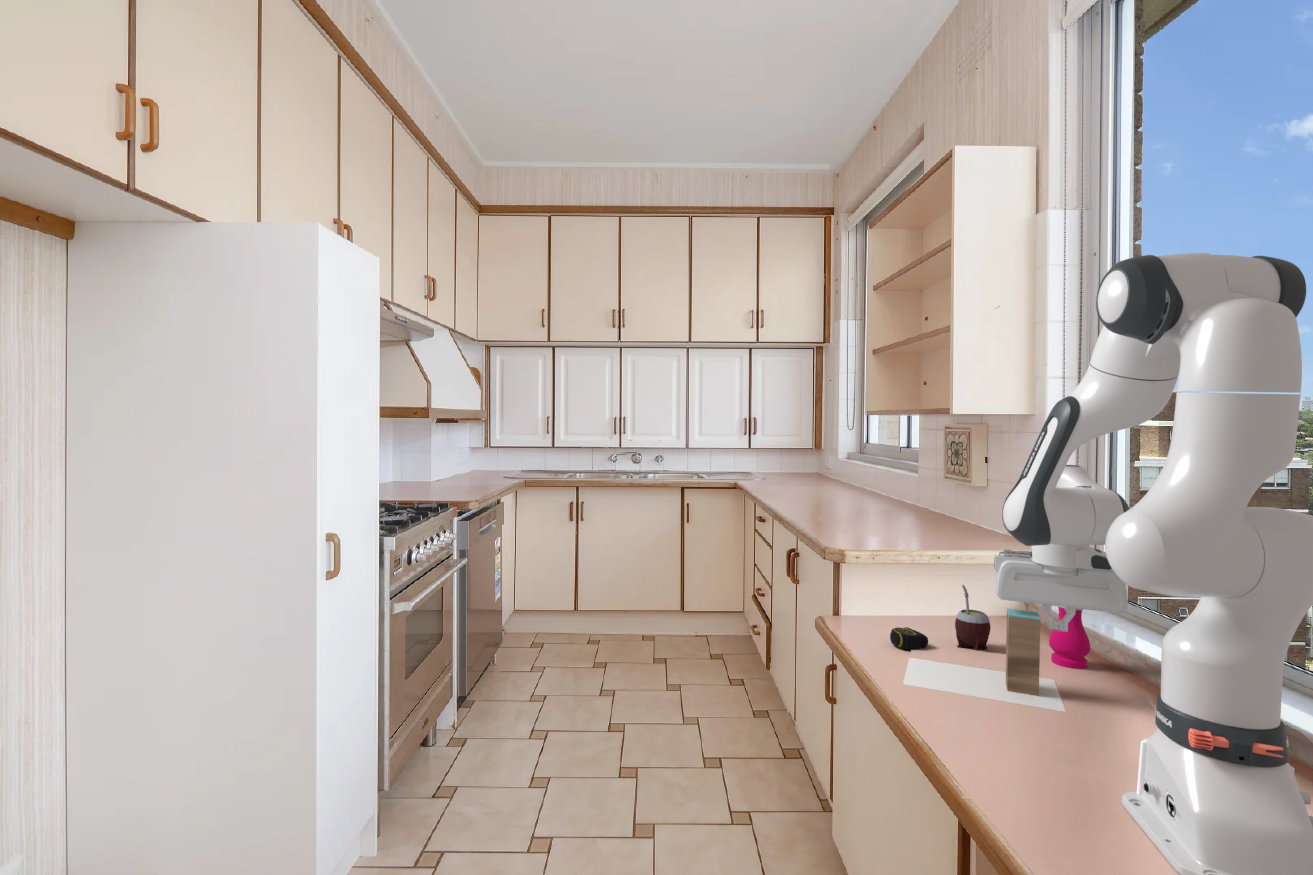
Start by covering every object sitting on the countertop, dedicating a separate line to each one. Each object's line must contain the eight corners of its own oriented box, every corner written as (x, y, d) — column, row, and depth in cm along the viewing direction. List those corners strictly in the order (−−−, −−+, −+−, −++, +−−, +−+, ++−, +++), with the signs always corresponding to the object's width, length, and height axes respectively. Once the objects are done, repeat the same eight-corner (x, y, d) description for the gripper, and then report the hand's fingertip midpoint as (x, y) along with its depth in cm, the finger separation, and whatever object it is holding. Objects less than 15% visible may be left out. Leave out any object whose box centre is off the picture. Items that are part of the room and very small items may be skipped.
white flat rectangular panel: (1066, 714, 109) (1066, 711, 109) (902, 686, 120) (903, 684, 120) (1053, 682, 123) (1054, 679, 123) (909, 659, 135) (909, 657, 135)
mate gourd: (982, 643, 146) (983, 578, 146) (997, 655, 138) (998, 586, 138) (948, 642, 146) (949, 576, 146) (961, 654, 139) (962, 585, 138)
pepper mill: (1093, 665, 133) (1095, 569, 133) (1086, 674, 127) (1088, 574, 127) (1052, 656, 138) (1054, 563, 138) (1044, 665, 132) (1046, 568, 132)
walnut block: (1038, 696, 115) (1040, 618, 115) (1007, 690, 118) (1008, 614, 118) (1035, 686, 120) (1037, 611, 120) (1005, 681, 122) (1007, 608, 122)
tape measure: (929, 651, 141) (930, 634, 141) (903, 654, 139) (904, 636, 139) (908, 641, 147) (909, 624, 147) (883, 643, 145) (883, 627, 145)
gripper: (995, 551, 118) (993, 626, 118) (1131, 562, 109) (1129, 643, 109) (993, 545, 124) (992, 617, 124) (1122, 556, 115) (1121, 633, 115)
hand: (1057, 629), depth 116 cm, fingers closed
